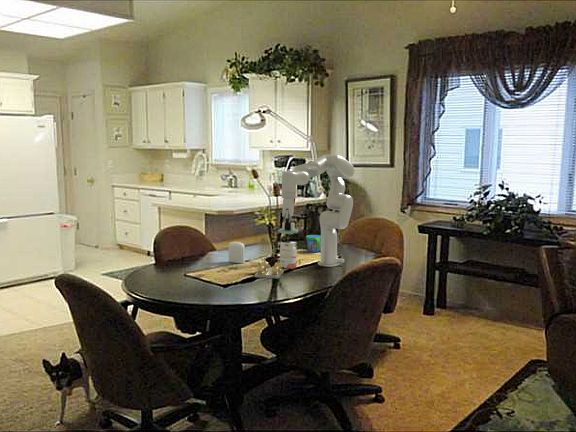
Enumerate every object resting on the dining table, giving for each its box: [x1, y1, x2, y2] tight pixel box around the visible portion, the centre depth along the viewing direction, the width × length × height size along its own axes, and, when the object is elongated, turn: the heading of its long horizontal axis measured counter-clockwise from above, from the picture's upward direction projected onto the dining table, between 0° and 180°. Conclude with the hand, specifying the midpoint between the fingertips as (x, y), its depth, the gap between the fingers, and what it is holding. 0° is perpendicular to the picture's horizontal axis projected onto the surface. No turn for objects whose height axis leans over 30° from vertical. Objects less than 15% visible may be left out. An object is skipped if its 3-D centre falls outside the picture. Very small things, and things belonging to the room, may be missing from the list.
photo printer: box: [227, 241, 246, 264], centre depth 331 cm, size 10×4×12 cm, turn 61°
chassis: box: [254, 259, 285, 279], centre depth 303 cm, size 14×13×7 cm
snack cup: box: [305, 234, 321, 253], centre depth 366 cm, size 16×10×10 cm
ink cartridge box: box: [279, 241, 297, 270], centre depth 320 cm, size 9×5×15 cm, turn 62°
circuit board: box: [277, 221, 300, 235], centre depth 298 cm, size 12×10×5 cm
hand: (288, 228), depth 298 cm, fingers closed on circuit board, 4 cm apart
